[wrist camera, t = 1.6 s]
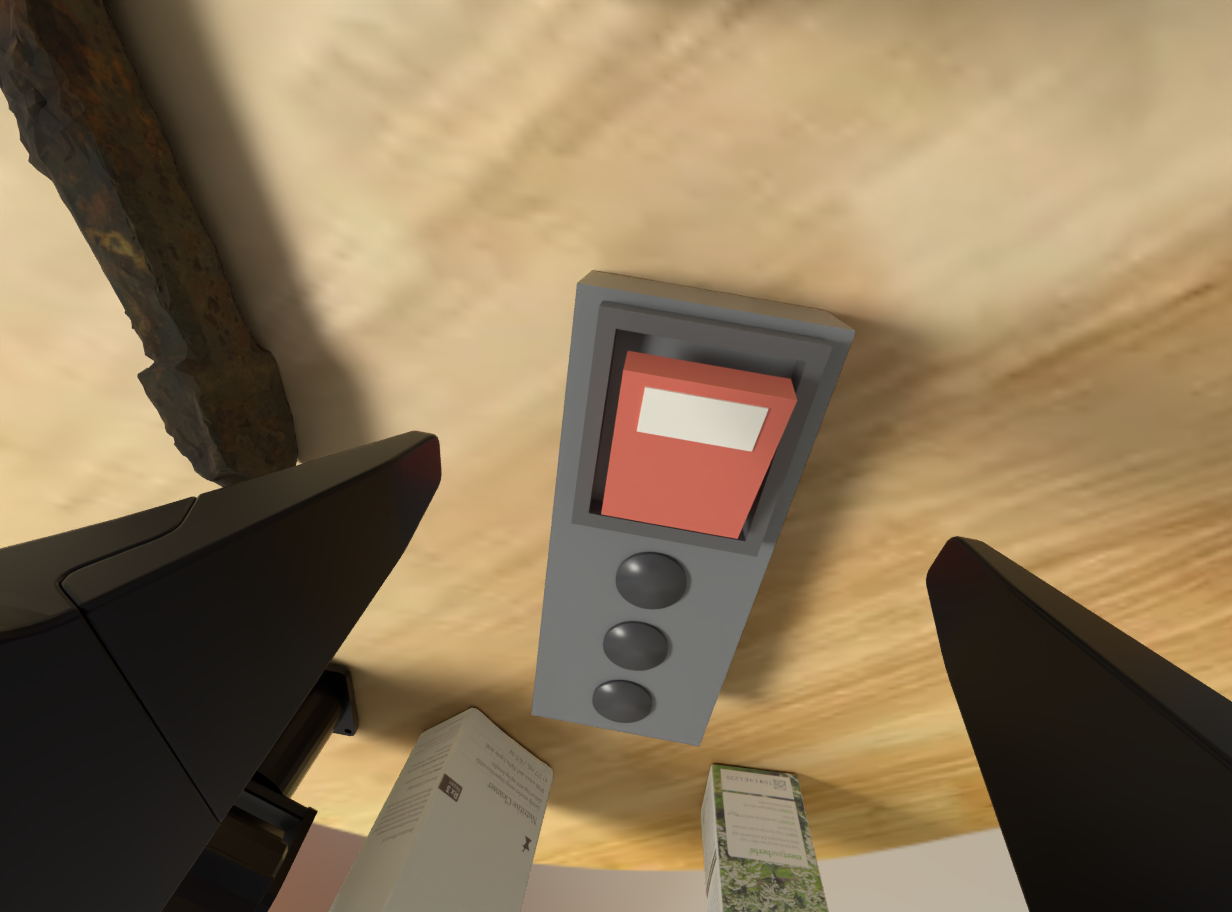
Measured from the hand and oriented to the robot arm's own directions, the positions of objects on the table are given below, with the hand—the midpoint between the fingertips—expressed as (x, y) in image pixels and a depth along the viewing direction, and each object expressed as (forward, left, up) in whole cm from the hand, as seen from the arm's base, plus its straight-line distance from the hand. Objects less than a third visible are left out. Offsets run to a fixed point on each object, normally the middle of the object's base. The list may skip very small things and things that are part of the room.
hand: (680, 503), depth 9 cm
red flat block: (-3, -1, -7) cm, 8 cm away
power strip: (-9, -1, -12) cm, 15 cm away
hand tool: (0, +19, -13) cm, 23 cm away
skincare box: (-30, +7, -13) cm, 33 cm away
